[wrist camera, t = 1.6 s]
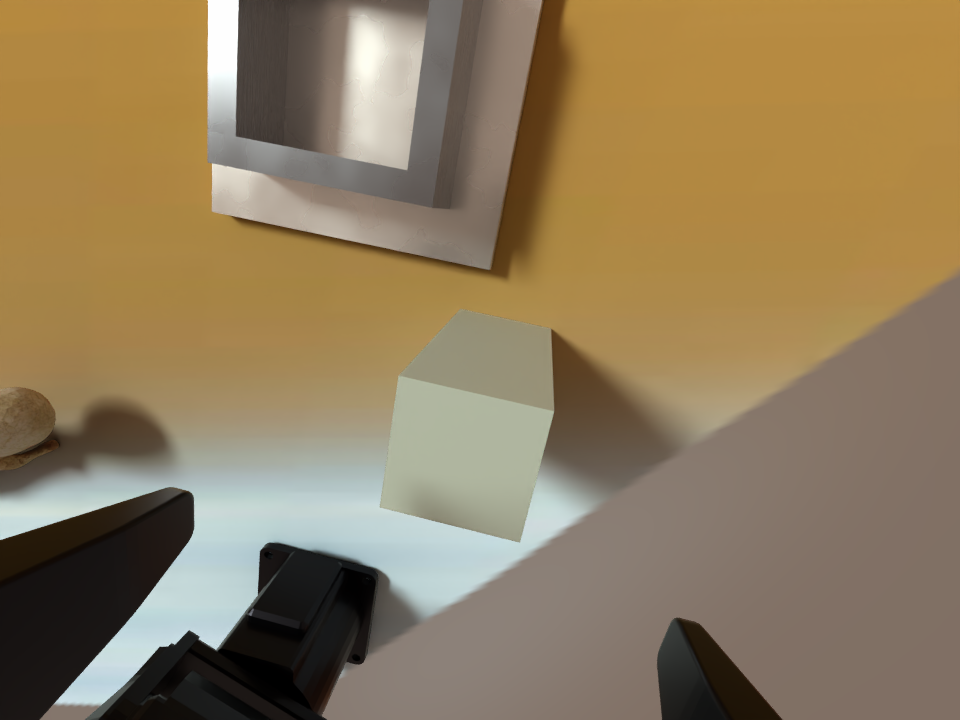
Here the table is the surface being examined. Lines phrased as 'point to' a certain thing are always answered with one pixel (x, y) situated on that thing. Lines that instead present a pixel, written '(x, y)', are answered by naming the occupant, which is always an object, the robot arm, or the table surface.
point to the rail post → (472, 425)
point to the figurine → (24, 426)
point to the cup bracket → (370, 117)
